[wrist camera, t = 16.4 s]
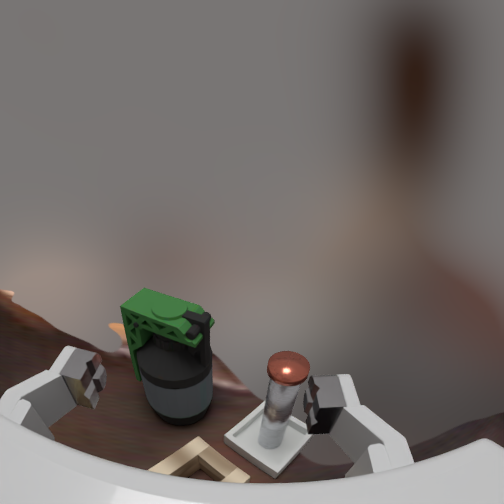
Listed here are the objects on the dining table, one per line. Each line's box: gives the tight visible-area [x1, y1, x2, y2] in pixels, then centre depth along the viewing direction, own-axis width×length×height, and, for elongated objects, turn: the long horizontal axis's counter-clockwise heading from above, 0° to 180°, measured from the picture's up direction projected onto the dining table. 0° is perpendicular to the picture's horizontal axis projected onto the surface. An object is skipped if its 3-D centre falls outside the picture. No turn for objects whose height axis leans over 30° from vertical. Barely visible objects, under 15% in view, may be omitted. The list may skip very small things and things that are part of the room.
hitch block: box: [147, 436, 250, 483], centre depth 27 cm, size 9×9×5 cm
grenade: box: [120, 288, 214, 426], centre depth 39 cm, size 11×13×20 cm
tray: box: [224, 400, 314, 478], centre depth 36 cm, size 10×10×2 cm
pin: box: [258, 351, 310, 449], centre depth 33 cm, size 5×5×17 cm
